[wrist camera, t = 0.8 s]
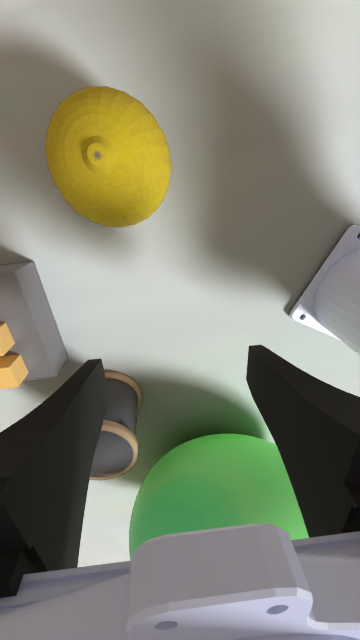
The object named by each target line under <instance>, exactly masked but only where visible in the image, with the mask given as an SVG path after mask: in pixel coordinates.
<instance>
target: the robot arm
mask: <svg viewBox="0 0 360 640" xmlns="http://www.w3.org/2000/svg"><path fill="white" fill-rule="evenodd" d="M359 233H360V226H359V225H352V226H350V227H349V228H348V229H347V230H346V232H345V233H344V235H343V236H342V237H341V239H340V240H339V242H338V243H337V245H336V246H335V248H334V249H333V251H332V252H331V253H330V255H329V256H328V258H327V259H326V261H325V262H324V264H323V265H322V267H321V268H320V270H319V271H318V272H317V274H316V275H315V277H314V278H313V280H312V281H311V283H310V284H309V286H308V287H307V288H306V290H305V291H304V293H303V294H302V296H301V297H300V299H299V300H298V302H297V303H296V304H295V306H294V307H293V309H292V310H291V312H290V317H291V318H292V319H293V320H295V321H297V322H300V323H302V324H304V325H306V326H309V327H311V328H313V329H316V330H318V331H320V332H322V333H325V334H327V335H329V336H331V337H334V338H336V339H338V340H340V341H342V342H343V343H345V344H346V345H347V346H349V347H350V348H351V349H352V350H354V351H355V352H356V353H358V354H359V355H360V237H359V238H357V235H358V234H359ZM302 314H303V317H302V318H299V317H300V316H301V315H302ZM246 380H247V383H248V386H249V389H250V391H251V394H252V397H253V399H254V401H255V403H256V405H257V407H258V409H259V411H260V413H261V415H262V417H263V419H264V421H265V423H266V425H267V427H268V429H269V431H270V432H271V434H272V436H273V439H274V441H275V443H276V445H277V448H278V450H279V453H280V455H281V458H282V460H283V463H284V466H285V468H286V471H287V474H288V476H289V479H290V482H291V485H292V487H293V490H294V493H295V496H296V499H297V502H298V505H299V508H300V511H301V514H302V517H303V520H304V523H305V526H306V529H307V533H308V536H309V538H304V539H296V540H291V539H290V537H289V534H288V532H286V531H284V530H283V529H281V528H279V527H277V526H275V525H273V524H247V525H238V526H230V527H222V528H214V529H206V530H198V531H190V532H182V533H174V534H166V535H163V536H159V537H155V538H152V539H149V540H147V541H146V542H144V543H143V544H142V545H140V546H139V547H137V548H136V549H135V550H134V552H133V554H132V558H131V561H125V562H117V563H110V564H102V565H94V566H86V567H79V568H77V565H78V556H79V547H80V539H81V532H82V524H83V517H84V510H85V503H86V496H87V490H88V484H89V478H90V472H91V466H92V462H93V458H94V454H95V450H96V446H97V443H98V439H99V436H100V432H101V428H102V425H103V421H104V417H105V413H106V408H107V401H108V393H109V391H108V387H107V382H106V378H105V373H104V369H103V364H102V360H101V359H93V360H88V361H87V362H86V363H85V364H84V365H83V366H82V367H81V368H80V369H79V370H78V371H77V372H76V373H75V374H74V375H73V376H71V377H70V378H69V379H68V380H67V381H66V382H65V383H64V384H63V385H62V386H61V387H60V388H59V389H58V390H57V391H55V392H54V393H53V394H52V395H51V396H50V397H49V398H48V399H46V400H45V401H44V402H43V403H42V404H40V405H39V406H38V407H37V408H35V409H34V410H33V411H31V412H30V413H29V414H27V415H26V416H25V417H23V418H22V419H20V420H19V421H17V422H16V423H14V424H13V425H11V426H10V427H8V428H7V429H5V430H3V431H2V432H0V640H360V397H358V396H355V395H353V394H350V393H347V392H345V391H343V390H340V389H338V388H336V387H333V386H331V385H329V384H327V383H325V382H323V381H321V380H319V379H317V378H315V377H313V376H311V375H309V374H308V373H306V372H304V371H302V370H301V369H299V368H297V367H296V366H294V365H292V364H291V363H289V362H287V361H286V360H284V359H283V358H281V357H280V356H278V355H277V354H275V353H274V352H272V351H270V350H269V349H267V348H266V347H264V346H262V345H254V346H249V352H248V365H247V377H246Z"/></svg>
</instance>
